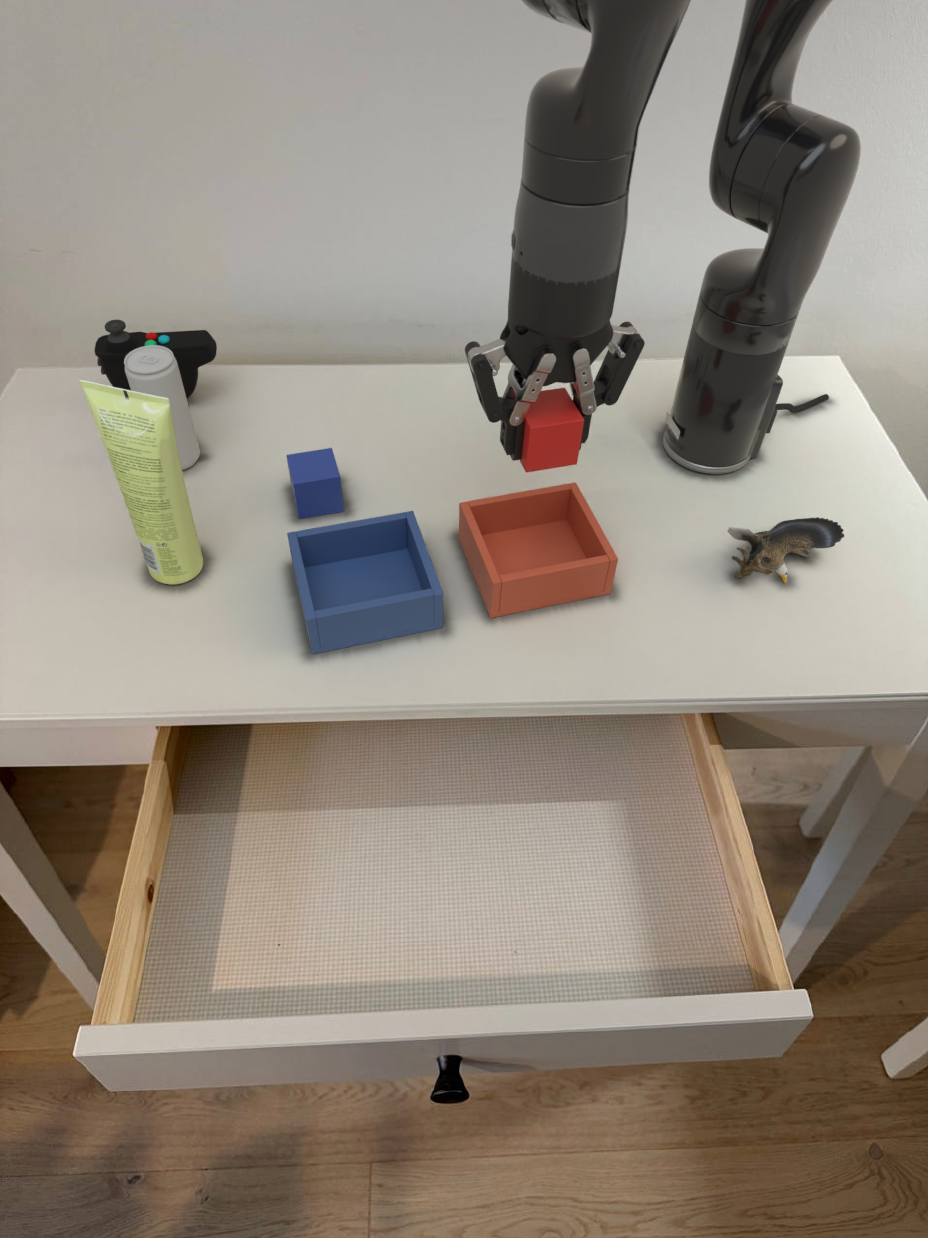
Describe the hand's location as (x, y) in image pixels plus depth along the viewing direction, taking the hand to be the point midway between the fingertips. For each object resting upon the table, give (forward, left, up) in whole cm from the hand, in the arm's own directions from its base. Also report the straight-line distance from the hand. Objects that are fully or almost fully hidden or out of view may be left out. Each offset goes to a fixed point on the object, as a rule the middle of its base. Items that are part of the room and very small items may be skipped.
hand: (543, 448), depth 73 cm
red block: (0, 0, 0) cm, 0 cm away
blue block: (+18, -14, -14) cm, 26 cm away
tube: (+32, -8, -14) cm, 36 cm away
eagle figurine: (-22, +6, -14) cm, 27 cm away
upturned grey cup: (+31, -24, -14) cm, 41 cm away
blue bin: (+16, 0, -14) cm, 21 cm away
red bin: (0, 0, -14) cm, 14 cm away
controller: (+31, -34, -14) cm, 48 cm away
